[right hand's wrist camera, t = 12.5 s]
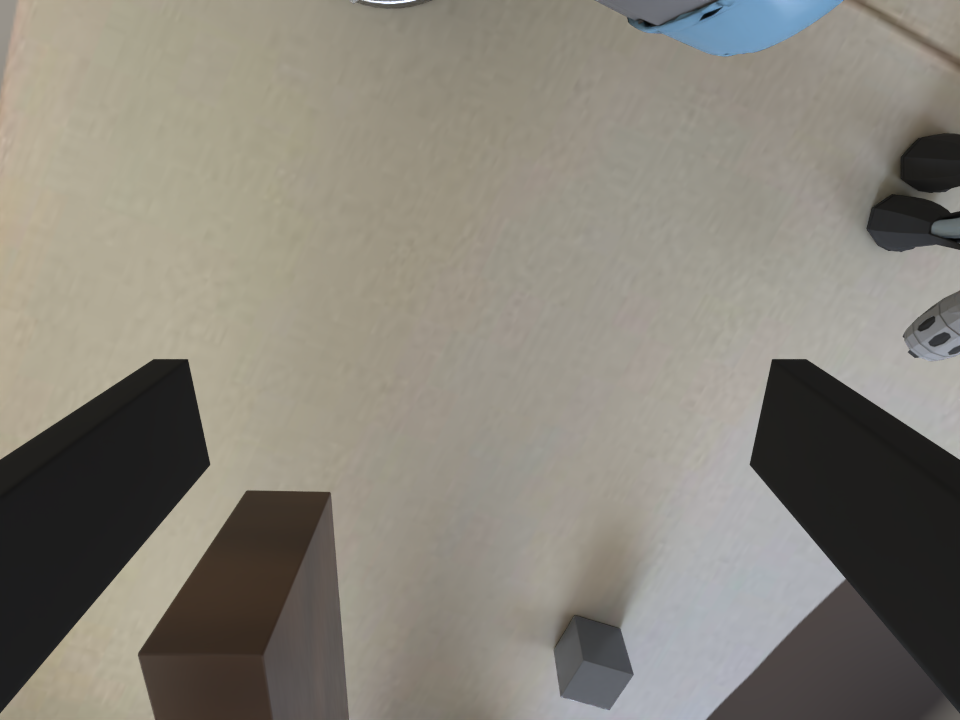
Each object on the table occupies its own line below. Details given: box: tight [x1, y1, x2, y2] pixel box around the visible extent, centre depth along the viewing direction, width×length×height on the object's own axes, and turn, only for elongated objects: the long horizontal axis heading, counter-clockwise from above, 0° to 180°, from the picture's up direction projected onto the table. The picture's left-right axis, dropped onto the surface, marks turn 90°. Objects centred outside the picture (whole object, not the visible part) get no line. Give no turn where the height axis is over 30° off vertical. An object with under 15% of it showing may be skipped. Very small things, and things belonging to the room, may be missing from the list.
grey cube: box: [554, 615, 634, 710], centre depth 51 cm, size 5×5×5 cm
